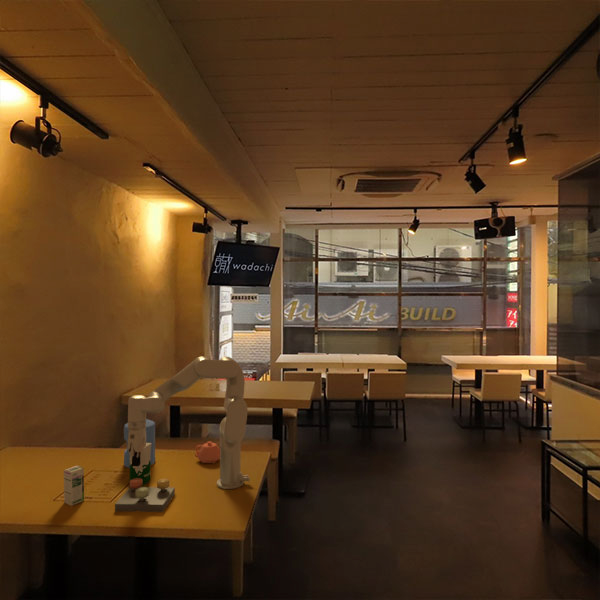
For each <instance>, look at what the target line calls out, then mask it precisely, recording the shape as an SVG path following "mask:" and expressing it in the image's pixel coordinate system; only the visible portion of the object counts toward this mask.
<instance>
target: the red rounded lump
mask: <svg viewBox="0 0 600 600" xmlns="http://www.w3.org/2000/svg"><path fill="white" fill-rule="evenodd" d="M142 485H143V480H142V479H141V478H135V479H132V480H130V485H129V488H132V489H134V492H136V489H138V488H140V487H143V486H142Z"/></svg>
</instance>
